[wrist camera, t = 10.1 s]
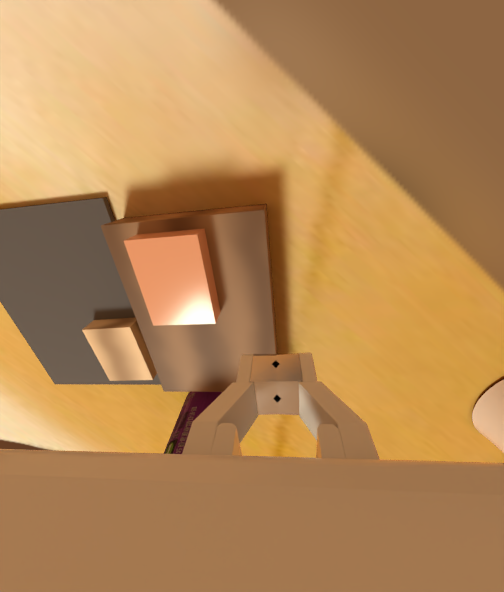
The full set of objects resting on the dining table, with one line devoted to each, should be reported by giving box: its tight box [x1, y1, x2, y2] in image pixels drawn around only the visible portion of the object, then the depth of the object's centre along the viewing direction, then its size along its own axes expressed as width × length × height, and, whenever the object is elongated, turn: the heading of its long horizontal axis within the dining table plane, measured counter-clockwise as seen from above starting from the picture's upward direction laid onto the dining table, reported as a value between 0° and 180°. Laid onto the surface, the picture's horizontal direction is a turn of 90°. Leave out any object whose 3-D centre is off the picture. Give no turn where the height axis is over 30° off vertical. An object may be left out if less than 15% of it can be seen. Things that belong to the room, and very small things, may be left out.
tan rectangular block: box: [82, 318, 157, 381], centre depth 30 cm, size 6×8×2 cm
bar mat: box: [0, 197, 161, 384], centre depth 29 cm, size 18×24×1 cm
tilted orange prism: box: [124, 229, 220, 326], centre depth 21 cm, size 6×8×2 cm
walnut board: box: [101, 204, 278, 392], centre depth 26 cm, size 14×20×4 cm
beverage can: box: [164, 392, 223, 454], centre depth 30 cm, size 7×7×12 cm
